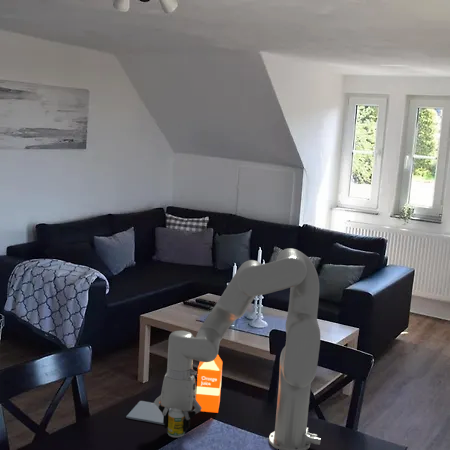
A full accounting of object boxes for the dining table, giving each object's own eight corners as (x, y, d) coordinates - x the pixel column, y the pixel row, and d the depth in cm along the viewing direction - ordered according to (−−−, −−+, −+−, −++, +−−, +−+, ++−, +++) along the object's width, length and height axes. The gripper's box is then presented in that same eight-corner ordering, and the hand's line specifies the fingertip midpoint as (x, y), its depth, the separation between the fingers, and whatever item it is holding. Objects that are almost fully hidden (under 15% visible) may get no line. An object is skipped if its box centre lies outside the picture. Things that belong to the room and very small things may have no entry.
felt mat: (185, 410, 210) (185, 408, 210) (174, 426, 199) (174, 424, 199) (140, 402, 214) (140, 400, 214) (126, 417, 202) (126, 416, 202)
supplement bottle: (179, 428, 198) (181, 399, 196) (188, 435, 194) (189, 406, 192) (164, 431, 195) (165, 402, 193) (172, 439, 191) (174, 409, 189)
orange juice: (220, 401, 219) (224, 346, 215) (218, 412, 210) (222, 355, 207) (197, 399, 219) (201, 344, 216) (194, 410, 210) (198, 353, 207)
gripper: (210, 372, 193) (206, 427, 196) (156, 363, 197) (154, 418, 200) (203, 381, 185) (199, 439, 189) (148, 372, 189) (145, 428, 192)
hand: (176, 427), depth 194 cm, fingers closed on supplement bottle, 5 cm apart
